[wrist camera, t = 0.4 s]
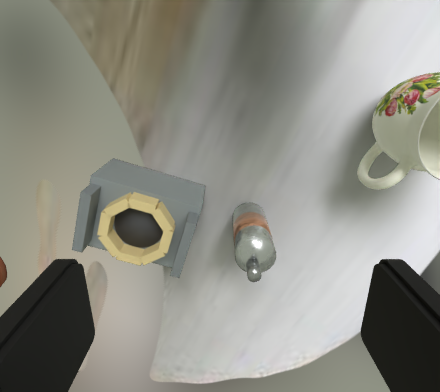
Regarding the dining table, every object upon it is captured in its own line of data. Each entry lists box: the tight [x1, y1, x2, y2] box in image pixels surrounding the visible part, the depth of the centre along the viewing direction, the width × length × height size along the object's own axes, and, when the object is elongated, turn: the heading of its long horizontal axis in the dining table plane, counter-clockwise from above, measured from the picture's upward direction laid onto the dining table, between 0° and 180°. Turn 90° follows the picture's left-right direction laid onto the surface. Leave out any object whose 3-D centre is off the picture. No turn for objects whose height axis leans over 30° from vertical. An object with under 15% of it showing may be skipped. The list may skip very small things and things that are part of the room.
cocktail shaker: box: [233, 203, 276, 282], centre depth 41 cm, size 5×5×13 cm
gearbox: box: [72, 159, 205, 278], centre depth 41 cm, size 10×14×11 cm
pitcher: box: [357, 72, 440, 190], centre depth 35 cm, size 11×18×14 cm, turn 138°
